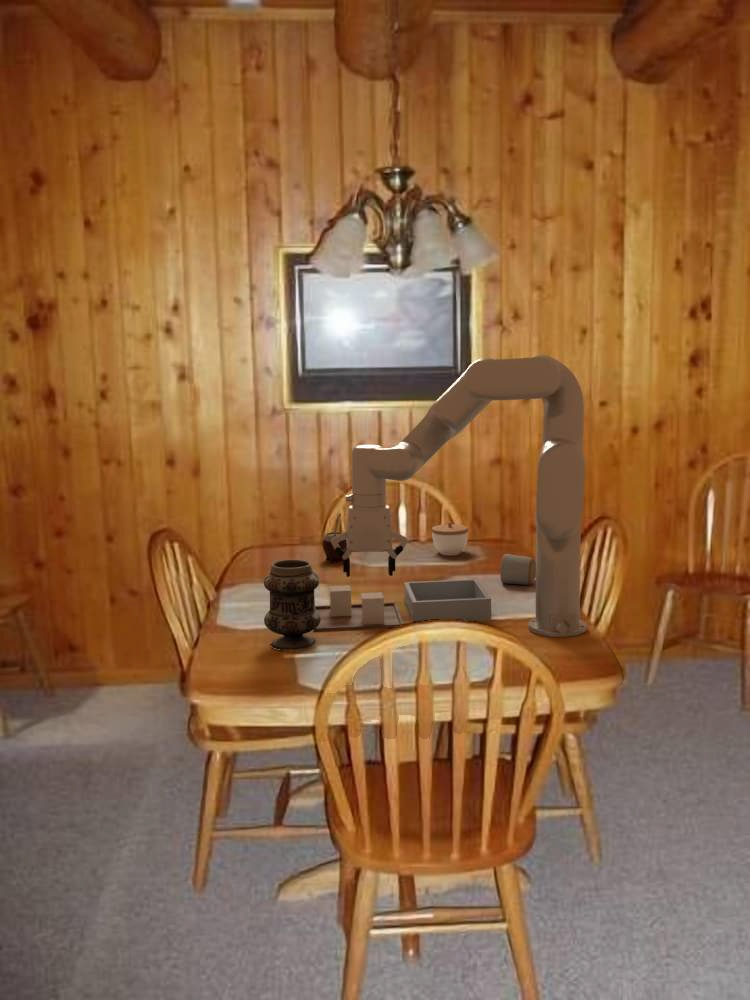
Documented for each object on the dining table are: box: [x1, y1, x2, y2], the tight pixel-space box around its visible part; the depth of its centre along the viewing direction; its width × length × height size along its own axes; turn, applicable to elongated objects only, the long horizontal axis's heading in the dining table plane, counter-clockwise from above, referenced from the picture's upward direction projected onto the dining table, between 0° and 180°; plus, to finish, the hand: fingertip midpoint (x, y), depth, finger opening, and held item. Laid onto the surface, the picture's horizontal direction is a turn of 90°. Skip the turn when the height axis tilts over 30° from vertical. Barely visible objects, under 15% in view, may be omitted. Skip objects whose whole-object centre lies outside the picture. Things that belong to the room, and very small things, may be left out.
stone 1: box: [329, 584, 352, 617], centre depth 229 cm, size 5×5×6 cm
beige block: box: [360, 591, 385, 625], centre depth 222 cm, size 5×5×6 cm
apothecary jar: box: [263, 558, 321, 651], centre depth 208 cm, size 12×12×18 cm
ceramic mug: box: [499, 553, 536, 586], centre depth 255 cm, size 11×8×8 cm
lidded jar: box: [431, 521, 469, 557], centre depth 290 cm, size 11×11×9 cm
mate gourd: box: [322, 513, 347, 564], centre depth 283 cm, size 8×8×15 cm
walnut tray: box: [313, 601, 405, 632], centre depth 226 cm, size 18×20×1 cm
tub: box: [403, 578, 492, 622], centre depth 231 cm, size 18×18×5 cm
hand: (369, 574), depth 221 cm, fingers open, 9 cm apart
